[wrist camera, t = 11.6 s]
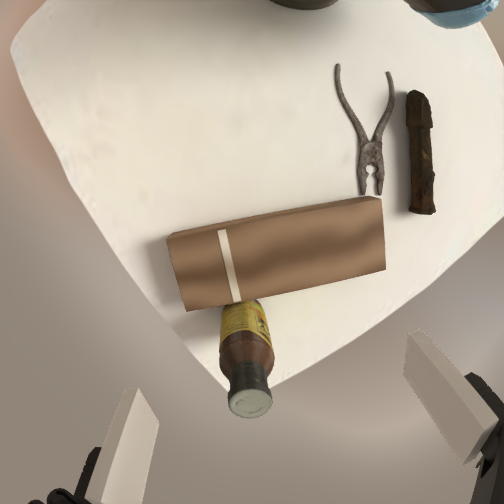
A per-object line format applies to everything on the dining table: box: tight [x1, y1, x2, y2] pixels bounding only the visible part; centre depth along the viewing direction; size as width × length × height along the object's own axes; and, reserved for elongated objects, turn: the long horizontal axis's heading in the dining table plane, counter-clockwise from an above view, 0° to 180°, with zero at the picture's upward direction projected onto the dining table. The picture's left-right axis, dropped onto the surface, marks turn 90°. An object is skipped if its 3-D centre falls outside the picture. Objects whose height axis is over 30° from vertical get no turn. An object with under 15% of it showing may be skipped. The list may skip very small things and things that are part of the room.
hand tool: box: [406, 90, 436, 215], centre depth 36 cm, size 19×4×5 cm, turn 3°
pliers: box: [335, 64, 394, 195], centre depth 37 cm, size 10×1×20 cm
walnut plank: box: [166, 196, 386, 312], centre depth 39 cm, size 10×28×4 cm, turn 101°
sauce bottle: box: [219, 299, 275, 418], centre depth 34 cm, size 6×6×20 cm
